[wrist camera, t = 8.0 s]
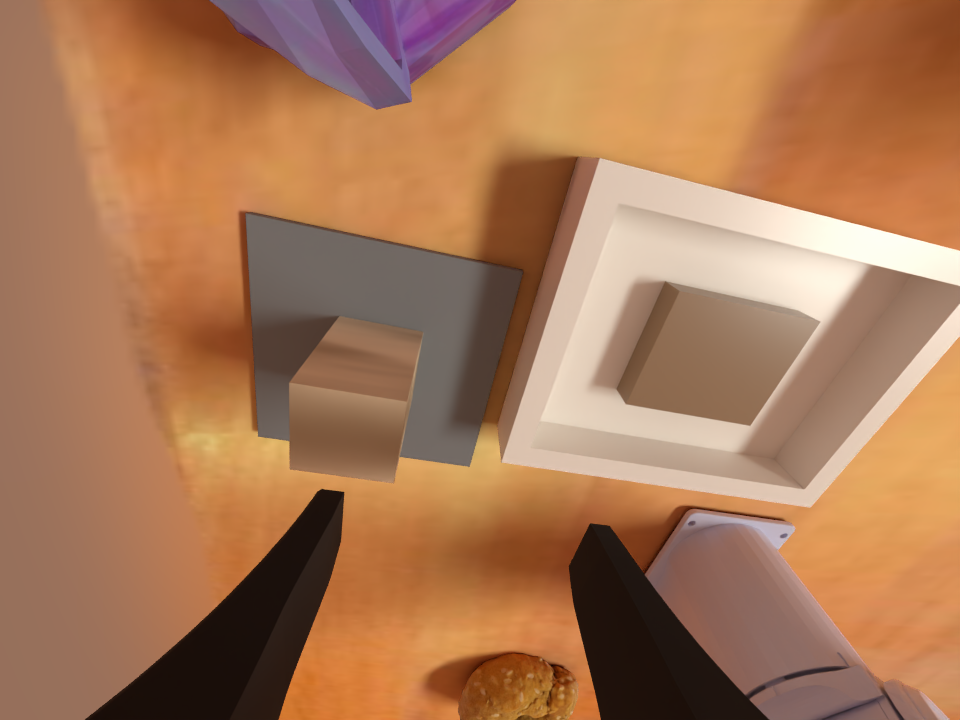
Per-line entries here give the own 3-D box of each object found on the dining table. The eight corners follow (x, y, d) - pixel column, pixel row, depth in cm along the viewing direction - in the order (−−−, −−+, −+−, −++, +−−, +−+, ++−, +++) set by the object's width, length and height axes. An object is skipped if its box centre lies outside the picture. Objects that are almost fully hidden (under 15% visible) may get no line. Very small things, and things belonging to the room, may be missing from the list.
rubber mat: (469, 461, 24) (469, 466, 23) (261, 431, 22) (258, 436, 22) (521, 269, 18) (523, 272, 18) (250, 211, 17) (245, 213, 16)
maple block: (412, 398, 21) (393, 483, 16) (335, 386, 20) (289, 469, 15) (423, 331, 19) (407, 401, 14) (339, 316, 19) (289, 382, 13)
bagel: (568, 700, 39) (580, 766, 35) (458, 701, 39) (457, 768, 35) (583, 646, 35) (598, 714, 31) (459, 647, 34) (457, 716, 30)
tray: (773, 469, 25) (810, 507, 22) (497, 425, 22) (501, 462, 20) (940, 249, 18) (1020, 266, 16) (577, 156, 16) (600, 158, 13)
